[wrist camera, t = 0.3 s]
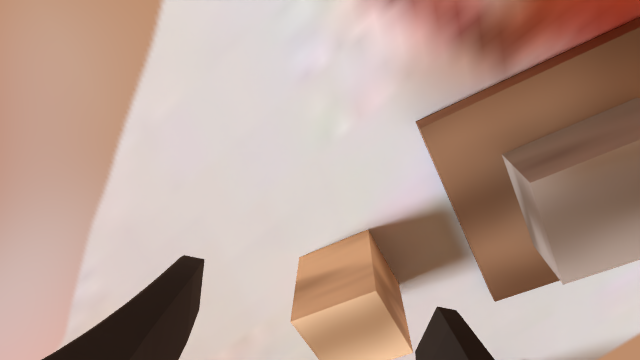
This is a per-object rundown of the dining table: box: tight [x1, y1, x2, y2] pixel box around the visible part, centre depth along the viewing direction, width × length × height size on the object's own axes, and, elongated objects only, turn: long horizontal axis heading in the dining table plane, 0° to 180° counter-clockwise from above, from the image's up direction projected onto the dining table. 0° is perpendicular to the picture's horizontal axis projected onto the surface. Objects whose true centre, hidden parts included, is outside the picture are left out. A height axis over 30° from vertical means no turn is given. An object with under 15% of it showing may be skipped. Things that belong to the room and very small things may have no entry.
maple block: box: [291, 230, 413, 360], centre depth 21 cm, size 4×4×5 cm
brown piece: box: [416, 18, 640, 301], centre depth 18 cm, size 12×12×4 cm
